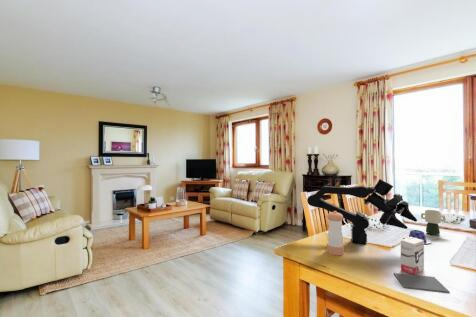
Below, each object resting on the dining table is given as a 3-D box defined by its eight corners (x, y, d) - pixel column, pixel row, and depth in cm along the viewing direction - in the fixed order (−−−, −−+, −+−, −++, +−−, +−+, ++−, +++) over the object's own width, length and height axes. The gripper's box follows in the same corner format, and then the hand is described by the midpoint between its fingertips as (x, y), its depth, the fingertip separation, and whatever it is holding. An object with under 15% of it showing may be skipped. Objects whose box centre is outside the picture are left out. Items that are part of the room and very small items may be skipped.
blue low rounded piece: (405, 236, 142) (404, 226, 142) (432, 240, 135) (432, 230, 135) (402, 241, 133) (402, 231, 133) (431, 246, 125) (431, 236, 125)
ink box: (414, 275, 95) (414, 243, 95) (400, 270, 99) (400, 240, 99) (424, 269, 100) (424, 239, 100) (410, 265, 104) (410, 236, 104)
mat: (403, 287, 86) (403, 286, 86) (393, 273, 96) (393, 272, 96) (449, 292, 83) (449, 291, 83) (434, 277, 93) (434, 276, 93)
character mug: (445, 234, 144) (445, 211, 144) (444, 237, 138) (444, 213, 138) (421, 230, 151) (421, 208, 151) (420, 233, 146) (420, 210, 145)
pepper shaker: (331, 248, 123) (331, 208, 123) (346, 252, 118) (346, 210, 118) (324, 252, 118) (323, 211, 118) (339, 256, 113) (339, 213, 113)
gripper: (376, 196, 117) (410, 219, 107) (397, 185, 127) (430, 204, 116) (367, 213, 123) (398, 236, 113) (387, 201, 133) (418, 221, 123)
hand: (412, 224), depth 116 cm, fingers open, 9 cm apart
